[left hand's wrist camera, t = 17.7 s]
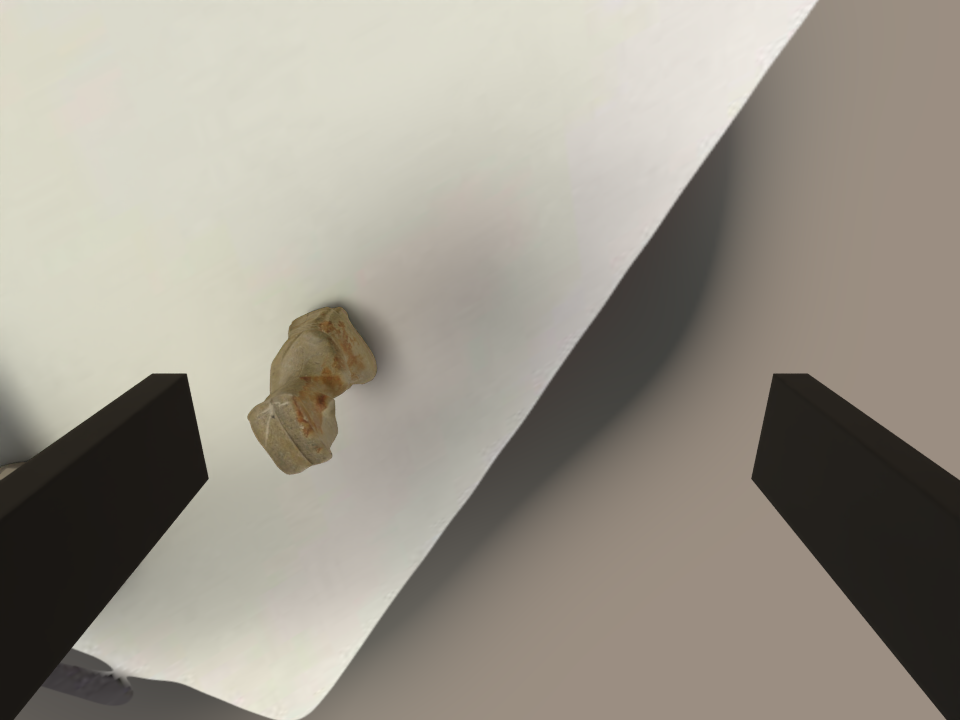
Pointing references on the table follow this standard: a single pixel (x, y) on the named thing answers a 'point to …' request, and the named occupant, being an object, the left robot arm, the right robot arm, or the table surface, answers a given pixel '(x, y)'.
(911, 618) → the left robot arm
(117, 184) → the table surface
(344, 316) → the sculpture
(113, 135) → the table surface
